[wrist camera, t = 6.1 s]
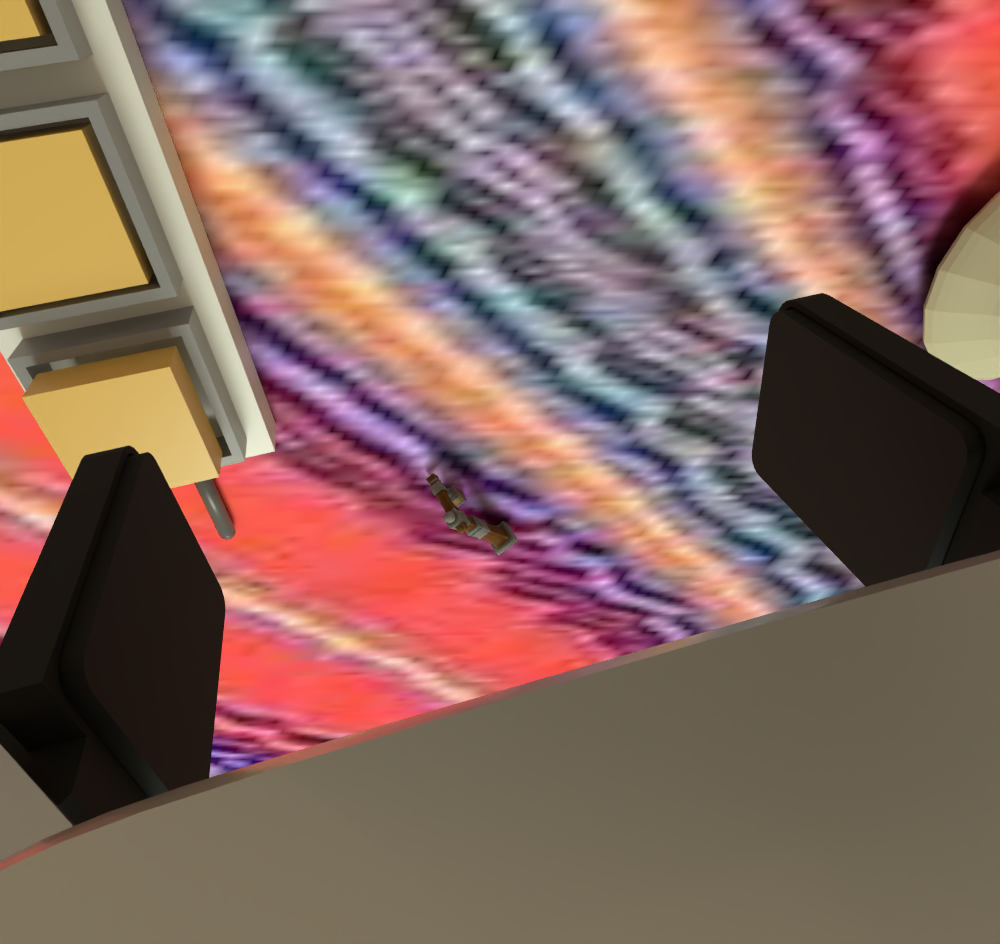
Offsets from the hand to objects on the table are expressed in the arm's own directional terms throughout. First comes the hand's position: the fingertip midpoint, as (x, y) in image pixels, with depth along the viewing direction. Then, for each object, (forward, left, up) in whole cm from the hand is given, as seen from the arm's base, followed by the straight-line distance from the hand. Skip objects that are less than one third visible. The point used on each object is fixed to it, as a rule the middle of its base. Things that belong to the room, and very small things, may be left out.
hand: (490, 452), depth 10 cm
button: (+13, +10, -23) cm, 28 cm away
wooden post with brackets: (-2, +24, -29) cm, 38 cm away
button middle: (+13, 0, -25) cm, 28 cm away
